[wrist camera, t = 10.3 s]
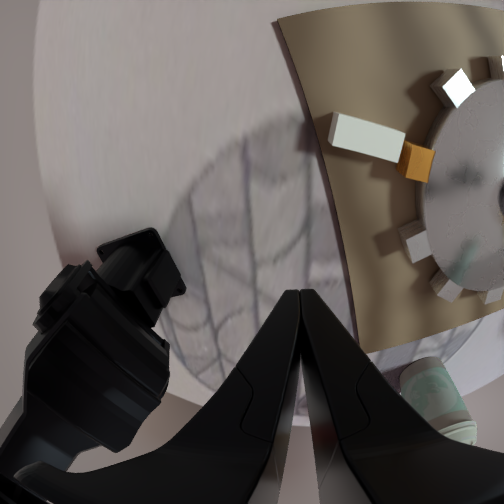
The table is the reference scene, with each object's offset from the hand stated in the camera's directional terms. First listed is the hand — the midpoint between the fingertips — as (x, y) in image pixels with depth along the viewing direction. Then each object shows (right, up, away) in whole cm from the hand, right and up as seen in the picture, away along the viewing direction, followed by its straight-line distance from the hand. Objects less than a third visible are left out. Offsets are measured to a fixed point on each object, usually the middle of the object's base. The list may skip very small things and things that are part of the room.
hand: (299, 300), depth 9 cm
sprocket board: (+19, +7, +9) cm, 22 cm away
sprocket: (+19, +7, +9) cm, 22 cm away
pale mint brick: (+6, +9, +9) cm, 14 cm away
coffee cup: (+19, -13, +21) cm, 31 cm away
